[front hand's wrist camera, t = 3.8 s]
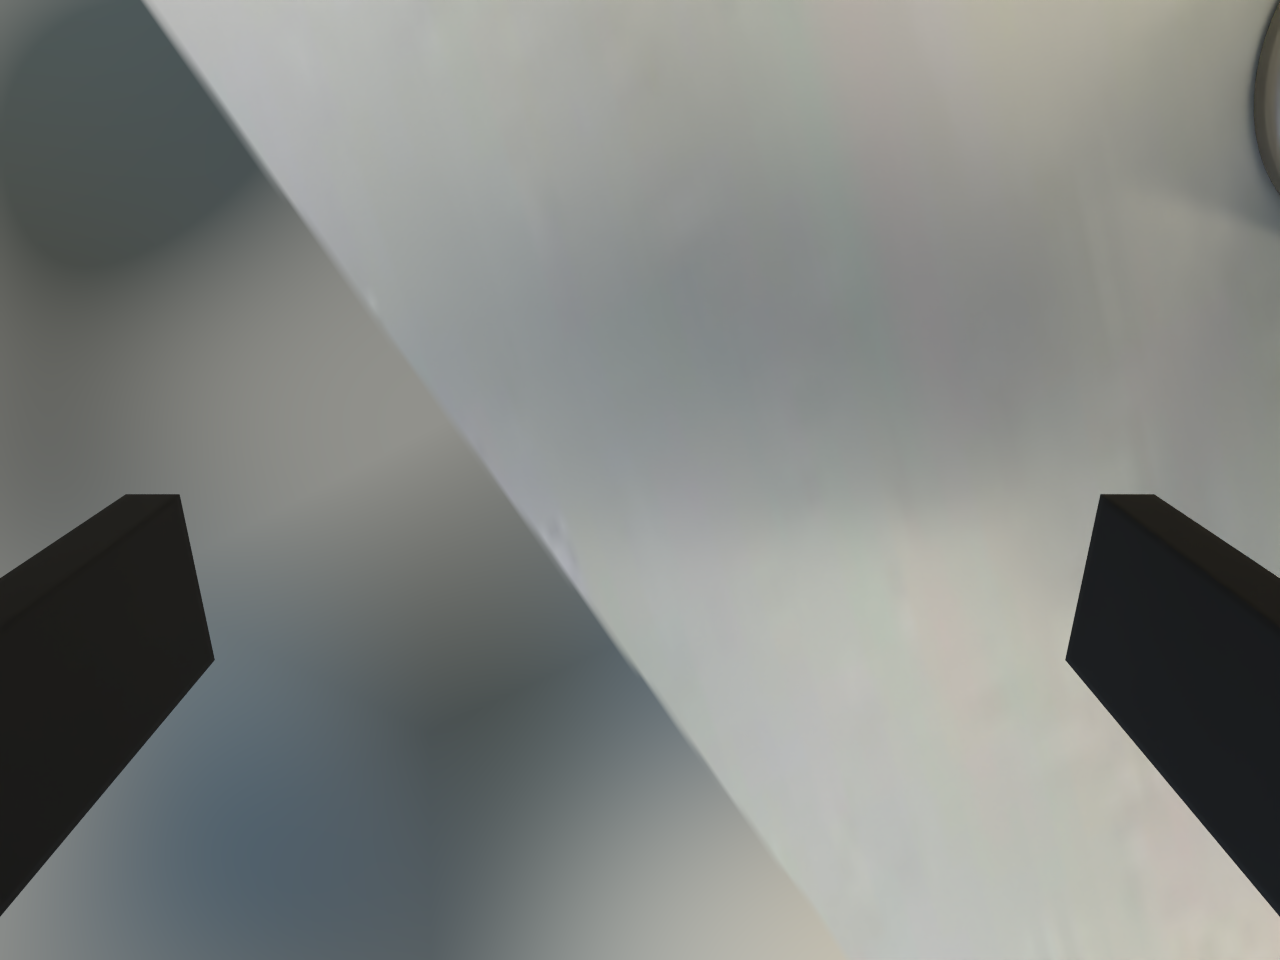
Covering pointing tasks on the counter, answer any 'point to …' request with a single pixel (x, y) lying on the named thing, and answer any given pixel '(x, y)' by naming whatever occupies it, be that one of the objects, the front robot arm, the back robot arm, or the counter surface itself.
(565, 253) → the counter surface
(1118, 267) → the counter surface
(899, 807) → the counter surface
